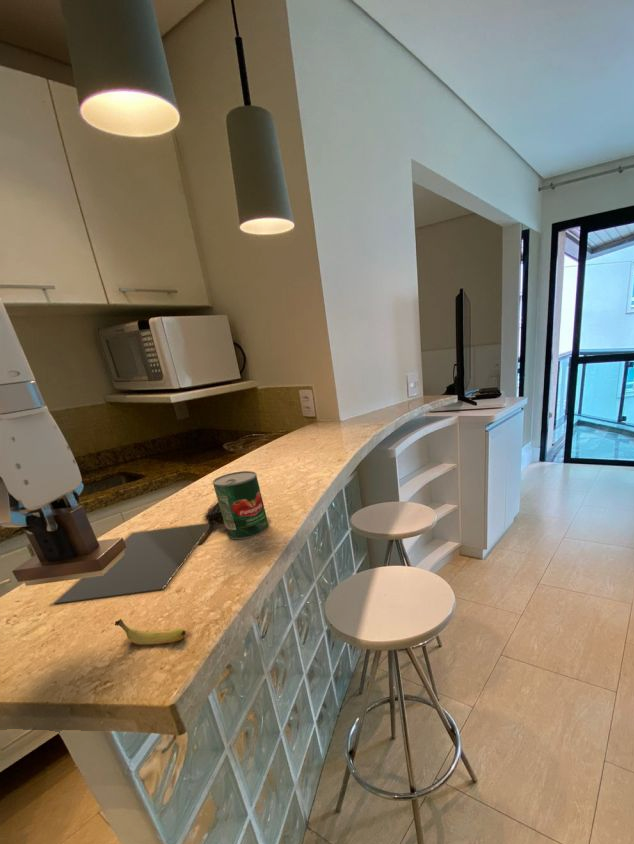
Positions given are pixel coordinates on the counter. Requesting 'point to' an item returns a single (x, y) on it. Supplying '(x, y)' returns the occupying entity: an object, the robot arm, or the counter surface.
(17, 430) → the robot arm
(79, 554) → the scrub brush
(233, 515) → the canned tomato
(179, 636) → the banana
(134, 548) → the slate board
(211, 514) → the hairbrush
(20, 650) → the counter surface
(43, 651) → the counter surface
